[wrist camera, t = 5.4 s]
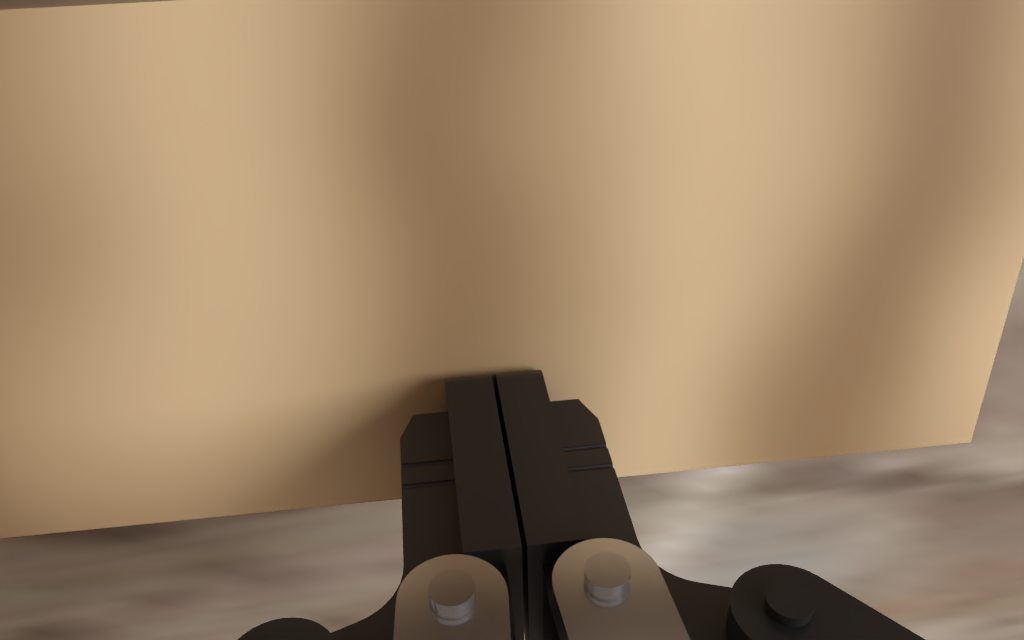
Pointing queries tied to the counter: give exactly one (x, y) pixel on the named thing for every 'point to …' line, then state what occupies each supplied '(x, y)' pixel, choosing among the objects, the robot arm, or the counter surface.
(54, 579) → the counter surface
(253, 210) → the oak plank
